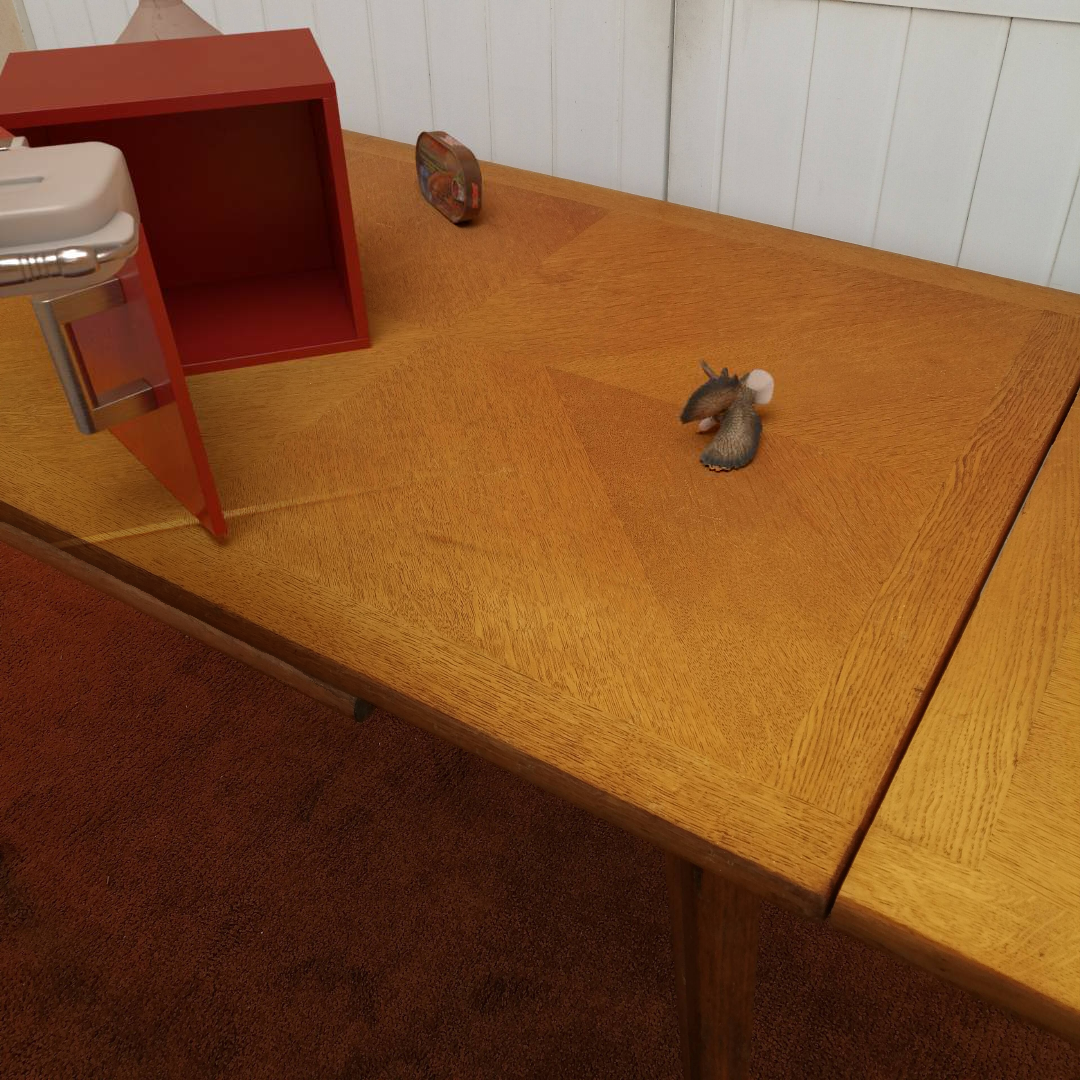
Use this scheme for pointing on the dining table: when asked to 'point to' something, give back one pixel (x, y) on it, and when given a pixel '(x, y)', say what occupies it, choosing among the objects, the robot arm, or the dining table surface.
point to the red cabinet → (218, 182)
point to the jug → (165, 22)
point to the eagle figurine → (729, 414)
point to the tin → (449, 176)
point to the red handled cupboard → (130, 376)
